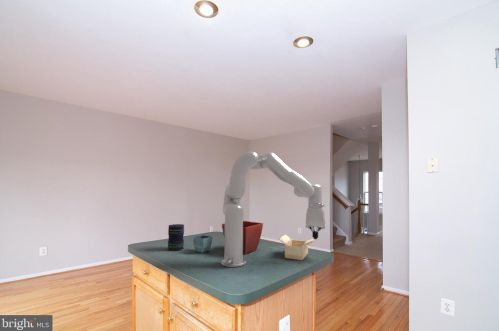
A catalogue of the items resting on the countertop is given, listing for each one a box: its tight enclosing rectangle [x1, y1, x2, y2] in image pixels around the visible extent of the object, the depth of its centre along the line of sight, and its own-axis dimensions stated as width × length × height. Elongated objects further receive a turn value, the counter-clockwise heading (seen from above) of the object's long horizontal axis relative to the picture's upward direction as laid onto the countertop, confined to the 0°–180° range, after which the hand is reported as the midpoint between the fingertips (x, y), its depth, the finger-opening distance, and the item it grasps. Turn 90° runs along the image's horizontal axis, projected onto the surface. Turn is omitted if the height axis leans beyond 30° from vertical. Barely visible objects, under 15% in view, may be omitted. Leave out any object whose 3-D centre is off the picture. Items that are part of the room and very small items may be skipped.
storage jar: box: [167, 223, 185, 252], centre depth 156 cm, size 10×10×15 cm
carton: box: [284, 239, 309, 261], centre depth 142 cm, size 17×10×7 cm, turn 157°
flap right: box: [303, 238, 315, 246], centre depth 139 cm, size 14×4×1 cm, turn 157°
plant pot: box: [221, 220, 264, 255], centre depth 152 cm, size 19×19×17 cm
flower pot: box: [192, 234, 213, 254], centre depth 150 cm, size 9×9×9 cm
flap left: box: [278, 234, 292, 245], centre depth 145 cm, size 14×4×1 cm
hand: (315, 238), depth 138 cm, fingers closed
